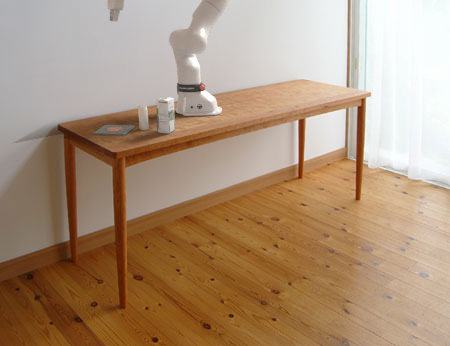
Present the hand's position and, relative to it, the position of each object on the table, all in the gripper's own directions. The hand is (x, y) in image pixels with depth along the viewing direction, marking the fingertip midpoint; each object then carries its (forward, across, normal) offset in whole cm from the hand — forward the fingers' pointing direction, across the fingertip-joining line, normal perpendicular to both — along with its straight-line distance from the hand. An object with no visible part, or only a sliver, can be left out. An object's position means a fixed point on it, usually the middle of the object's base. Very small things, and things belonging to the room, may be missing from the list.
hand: (113, 21), depth 230 cm
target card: (+45, -4, -6) cm, 46 cm away
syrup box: (+42, -14, -27) cm, 51 cm away
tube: (+43, -6, -19) cm, 47 cm away
